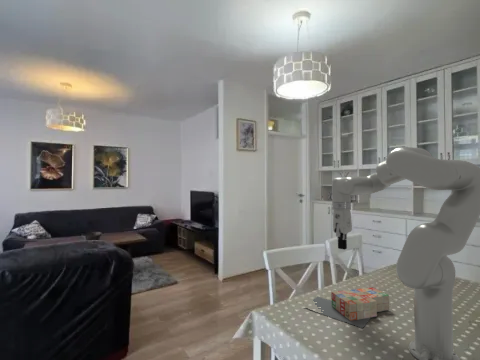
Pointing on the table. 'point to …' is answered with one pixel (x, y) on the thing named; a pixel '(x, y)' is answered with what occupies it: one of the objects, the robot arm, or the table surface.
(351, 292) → the stack of blocks
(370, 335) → the table surface
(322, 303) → the mat
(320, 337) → the table surface
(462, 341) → the table surface
